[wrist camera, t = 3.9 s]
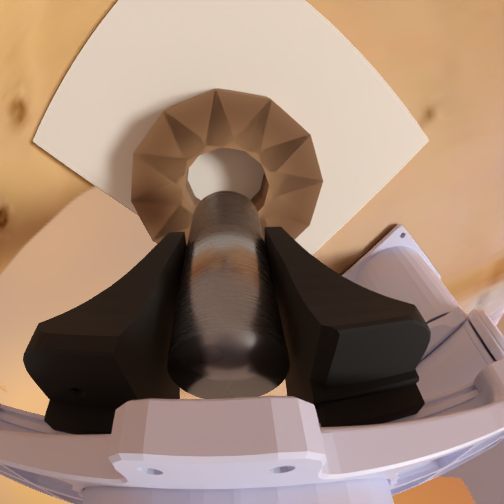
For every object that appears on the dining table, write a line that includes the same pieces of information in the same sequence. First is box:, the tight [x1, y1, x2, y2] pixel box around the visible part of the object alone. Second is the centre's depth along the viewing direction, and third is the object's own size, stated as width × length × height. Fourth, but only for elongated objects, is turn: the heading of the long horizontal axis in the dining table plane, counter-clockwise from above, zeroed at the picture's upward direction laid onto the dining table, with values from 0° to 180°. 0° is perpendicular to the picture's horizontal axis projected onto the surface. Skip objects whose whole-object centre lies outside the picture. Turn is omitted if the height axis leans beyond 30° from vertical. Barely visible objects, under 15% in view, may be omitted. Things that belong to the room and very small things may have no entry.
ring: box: [131, 88, 323, 245], centre depth 18 cm, size 11×11×2 cm
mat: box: [33, 0, 429, 255], centre depth 18 cm, size 22×18×1 cm
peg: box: [167, 191, 290, 399], centre depth 10 cm, size 3×3×8 cm
